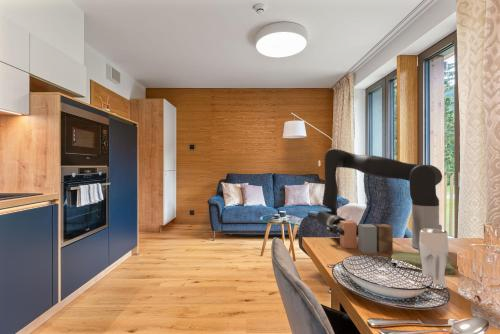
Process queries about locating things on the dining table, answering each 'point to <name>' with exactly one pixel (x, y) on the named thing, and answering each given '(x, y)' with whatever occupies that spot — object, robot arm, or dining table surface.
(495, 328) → the dining table surface
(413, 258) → the washcloth
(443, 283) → the beer glass
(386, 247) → the walnut block
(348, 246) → the terracotta block
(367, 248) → the slate-grey block
